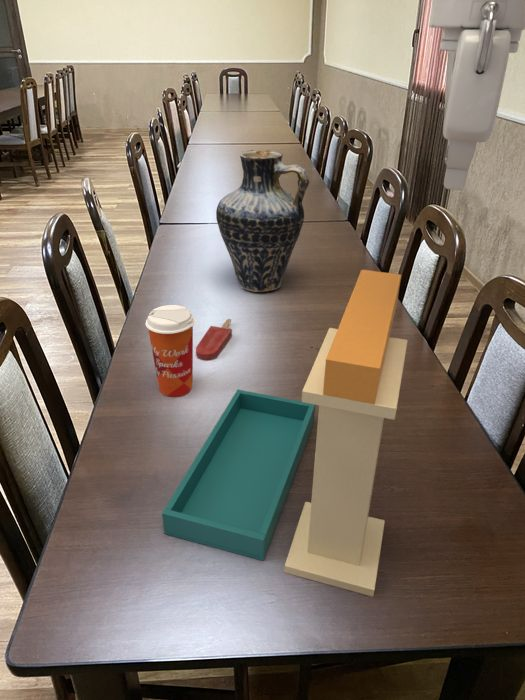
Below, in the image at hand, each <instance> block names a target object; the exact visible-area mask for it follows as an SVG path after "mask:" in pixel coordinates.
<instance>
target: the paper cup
mask: <svg viewBox="0 0 525 700" xmlns="http://www.w3.org/2000/svg"><path fill="white" fill-rule="evenodd" d="M196 322H197V321H196V319H195V317H194V316H193V314H192V313H191V311H190V310H189V309H188V307H185V306H182V305H178V304H177V305H176V304H168V305H167V304H166V305H161V306H158V307H156V308H154V309H152V310H151V311H150V312H149V314H148V316H147V318H146V319H145V327H146V328H147V329H148V334H149V340H150V347H151V352H152V358H153V363H154V368H155V369H154V370H155V374H156V381H157V384H158V389H159V391H160V393H161V394H162V395H163V396H166V397H170V398H178V397H183V396H185V395H188V394H189V393H190V392H191V391H192V389H193V376H194V375H193V373H194V365H193V364H194V326H195V324H196Z"/></svg>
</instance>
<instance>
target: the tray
mask: <svg viewBox="0 0 525 700" xmlns="http://www.w3.org/2000/svg"><path fill="white" fill-rule="evenodd" d="M315 414H316V405H314V404H309V403H304V402H302V400H301V401H300V400H295V399H291V398H284V397H279V396H274V395H269V394H265V393H264V394H263V393H259V392H254V391H249V390H243V389H237V390H235V393H234V394H233V396H232V398H231V399H230V401H229V403H228V404H227V406H226V408H225V409H224V411H223V412H222V414H221V416H220V417H219V419H218V421H217V422H216V424H215V426H214V428H213V429H212V431H211V432H210V434H209V435H208V437H207V439H206V440H205V442H204V443H203V445H202V447H201V448H200V450H199V452H198V453H197V455H196V457H195V459H194V460H193V461H192V463H191V464H190V466H189V468H188V470H187V472H186V473H185V475H184V476H183V478H182V480H181V481H180V483H179V484H178V486H177V488H176V489H175V490H174V493H173V494H172V496H171V498H170V499H169V501H168V502H167V504H166V506H165V507H164V509H163V511H162V513H161V517H162V525H163V534H164V535H167V536H171V537H175V538H179V539H182V540H186V541H189V542H193V543H196V544H199V545H203V546H207V547H211V548H215V549H218V550H222V551H226V552H229V553H233V554H237V555H241V556H244V557H247V558H251V559H255V560H259V561H262V562H263V561H265V558H266V555H267V552H268V550H269V548H270V544H271V541H272V539H273V536H274V533H275V531H276V529H277V526H278V523H279V520H280V517H281V514H282V511H283V509H284V506H285V503H286V500H287V497H288V495H289V493H290V490H291V487H292V484H293V481H294V479H295V475H296V473H297V470H298V468H299V465H300V462H301V459H302V456H303V454H304V451H305V448H306V445H307V443H308V441H309V437H310V435H311V432H312V429H313V427H314V424H315V416H316V415H315Z"/></svg>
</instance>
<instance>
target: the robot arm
mask: <svg viewBox="0 0 525 700" xmlns="http://www.w3.org/2000/svg"><path fill="white" fill-rule="evenodd" d="M428 27H429V28H432V29H433V28H434V29H436V28H437V29H441V30H442V34H441V41H440V46H439V49H440V51H443V52H444V51H445V52H447V59H446V61H447V62H446V75H445V78H446V79H445V88H444V89H445V93H444V112H443V113H444V114H443V122H442V123H443V124H442V136H443V139H445V140H447V145H446V151H445V155H444V156H445V158H444V164H445V166H446V168H445V172H444V177H443V187H444V188H445V189H446V190H455V191H461V190H463V189H464V188H465V185H466V183H467V178H468V173H469V170H470V167H471V163H472V161H473V158H474V156H475V152H476V148H477V144H478V143H485V142H488V141H489V140H490V139H491V136H492V133H493V131H494V127H495V124H496V120H497V115H498V110H499V106H500V101H501V96H502V93H503V87H504V81H505V78H506V72H507V68H508V67H507V66H508V62H509V56H510V54H515V53H517V52H518V50H519V46H520V43H519V42H520V41H521V37H522V32H523V31H525V0H432V1H431V8H430V14H429V21H428Z"/></svg>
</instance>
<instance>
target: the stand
mask: <svg viewBox="0 0 525 700" xmlns="http://www.w3.org/2000/svg"><path fill="white" fill-rule="evenodd" d="M337 330H338V328H333V327H329V328H328V330H327V333H326V335H325V337H324V339H323V341H322V344H321V345H320V349H319V351H318V353H317V356H316V358H315V361H314V363H313V365H312V368H311V370H310V372H309V374H308V376H307V380H306V381H305V384H304V386H303V387H302V391H301V402H304V403H309V404H314V405H315V406H318V417H317V428H316V439H315V440H316V441H315V451H314V452H315V453H314V463H313V465H314V466H313V475H312V476H313V479H312V488H311V489H312V491H311V502H310V501H305V502H304V504H303V508H302V510H301V513H300V517H299V520H298V523H297V525H296V528H295V531H294V535H293V539H292V540H291V545H290V548H289V551H288V554H287V557H286V559H285V560H286V561H285V563H284V568H283V569H284V571H283V573H285V574H288V575H292V576H296V577H299V578H302V579H307V580H310V581H314V582H317V583H321V584H325V585H329V586H331V587H332V586H333V587H336V588H339V589H342V590H346V591H350V592H354V593H357V594H361V595H364V596H369V597H372V598H373V597H374V596H375V589H376V585H377V577H378V569H379V563H380V556H381V551H382V550H381V548H382V542H383V536H384V529H385V522H386V520H385V519H382V518H381V519H379V518H376V517H372V516H369V514H370V508H371V503H372V497H373V496H372V495H373V489H374V483H375V476H376V471H377V465H378V457H379V451H380V446H381V439H382V434H383V427H384V421H385V419H387V420H396V415H397V408H398V404H399V403H398V402H399V398H400V397H399V396H400V390H401V385H402V379H403V371H404V366H405V360H406V352H407V347H408V339H406V338H405V339H404V338H398V337H392V336H390V337H389V342H388V346H387V351H386V356H385V360H384V365H383V369H382V374H381V378H380V383H379V387H378V392H377V396H376V401H375V404H370V403H365V402H359V401H354V400H349V399H343V398H338V397H333V396H327V395H323V387H324V375H325V364H326V358H327V355H328V353H329V350H330V348H331V345H332V343H333V340H334V338H335V335H336V333H337Z"/></svg>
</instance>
